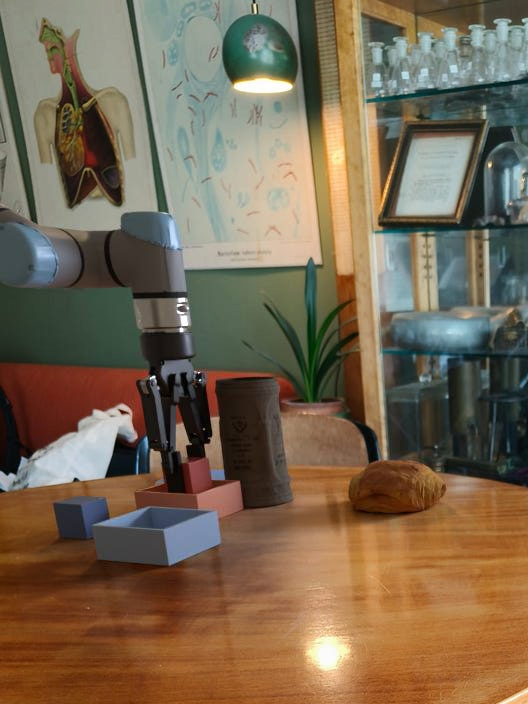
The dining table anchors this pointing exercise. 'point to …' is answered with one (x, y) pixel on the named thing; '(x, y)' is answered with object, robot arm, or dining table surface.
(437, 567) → the dining table surface
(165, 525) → the blue bin
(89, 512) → the blue block
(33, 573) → the dining table surface
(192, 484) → the red block
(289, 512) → the dining table surface
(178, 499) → the red bin
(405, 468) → the croissant
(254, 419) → the brown tall cylinder
